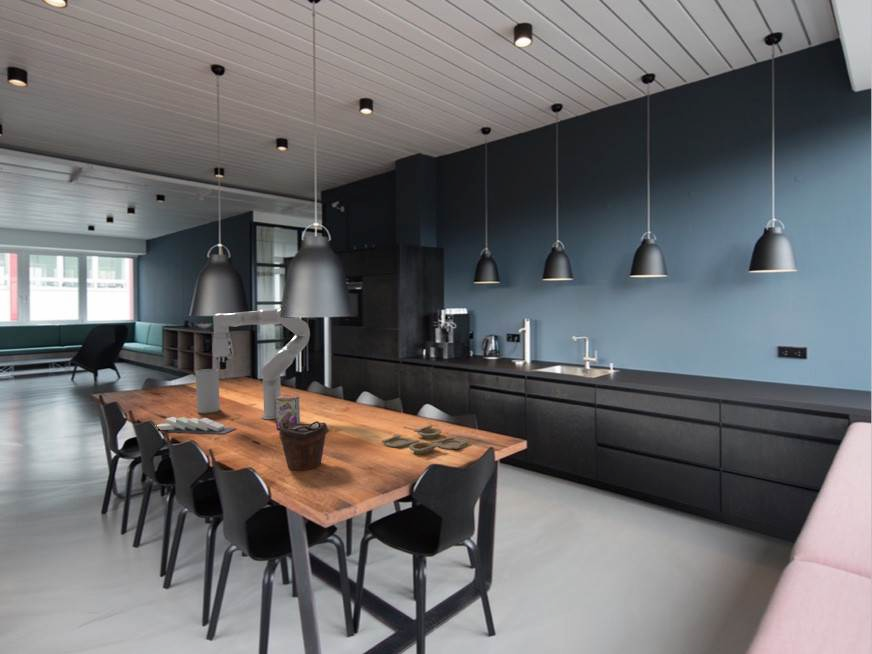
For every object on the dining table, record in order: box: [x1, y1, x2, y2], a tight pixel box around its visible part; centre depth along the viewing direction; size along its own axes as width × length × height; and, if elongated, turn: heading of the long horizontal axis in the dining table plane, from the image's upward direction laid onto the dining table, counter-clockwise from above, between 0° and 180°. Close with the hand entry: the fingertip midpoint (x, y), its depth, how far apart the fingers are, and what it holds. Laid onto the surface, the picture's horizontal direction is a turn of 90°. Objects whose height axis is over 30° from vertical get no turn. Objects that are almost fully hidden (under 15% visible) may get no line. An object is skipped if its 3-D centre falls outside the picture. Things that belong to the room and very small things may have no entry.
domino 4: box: [187, 417, 211, 431], centre depth 256 cm, size 2×5×12 cm
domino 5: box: [198, 417, 225, 432], centre depth 255 cm, size 2×5×12 cm
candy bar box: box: [275, 396, 301, 430], centre depth 256 cm, size 11×5×16 cm, turn 84°
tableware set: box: [381, 424, 470, 455], centre depth 224 cm, size 35×29×4 cm
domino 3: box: [176, 416, 200, 431], centre depth 258 cm, size 2×5×12 cm
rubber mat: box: [167, 427, 237, 435], centre depth 256 cm, size 33×10×1 cm, turn 77°
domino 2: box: [164, 416, 189, 430], centre depth 259 cm, size 2×5×12 cm
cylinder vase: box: [194, 368, 221, 414], centre depth 300 cm, size 12×12×25 cm
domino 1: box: [157, 423, 177, 431], centre depth 261 cm, size 2×5×12 cm
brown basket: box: [278, 421, 330, 472], centre depth 198 cm, size 18×20×18 cm
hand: (223, 369), depth 274 cm, fingers closed
